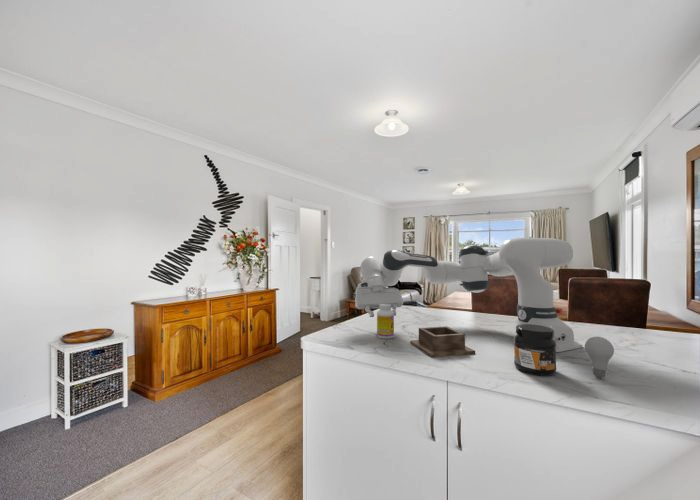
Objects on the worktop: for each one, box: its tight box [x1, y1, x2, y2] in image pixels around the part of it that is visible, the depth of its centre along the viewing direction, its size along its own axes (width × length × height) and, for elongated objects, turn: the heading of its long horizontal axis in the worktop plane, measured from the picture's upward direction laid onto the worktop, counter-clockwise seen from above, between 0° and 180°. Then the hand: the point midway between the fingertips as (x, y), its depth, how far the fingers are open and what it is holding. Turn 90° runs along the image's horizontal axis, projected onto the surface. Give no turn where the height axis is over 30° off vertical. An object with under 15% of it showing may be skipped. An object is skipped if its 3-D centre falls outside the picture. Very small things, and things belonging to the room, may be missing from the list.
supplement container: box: [513, 324, 557, 377], centre depth 89 cm, size 10×10×12 cm
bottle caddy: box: [409, 325, 476, 359], centre depth 109 cm, size 16×16×6 cm
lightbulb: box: [584, 336, 615, 379], centre depth 83 cm, size 6×6×11 cm
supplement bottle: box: [376, 304, 395, 340], centre depth 123 cm, size 7×7×13 cm
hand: (383, 315), depth 124 cm, fingers open, 8 cm apart
